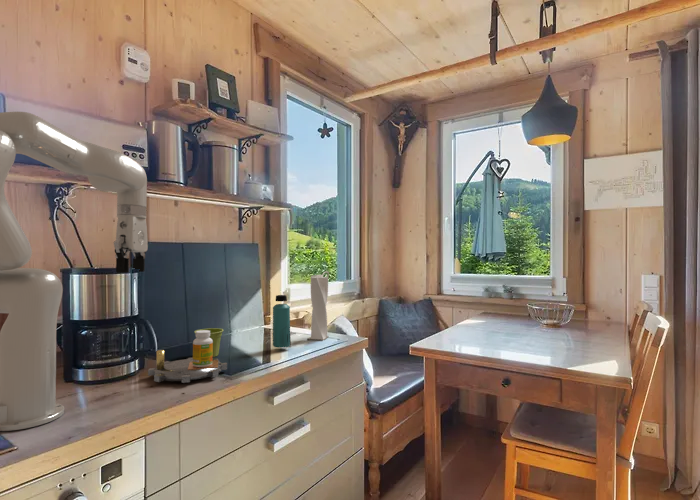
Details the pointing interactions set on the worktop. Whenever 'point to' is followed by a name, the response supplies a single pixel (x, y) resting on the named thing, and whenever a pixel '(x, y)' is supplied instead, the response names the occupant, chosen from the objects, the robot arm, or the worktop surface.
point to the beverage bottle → (281, 323)
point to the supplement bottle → (202, 349)
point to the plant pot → (214, 339)
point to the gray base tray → (183, 369)
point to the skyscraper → (319, 307)
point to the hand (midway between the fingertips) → (130, 272)
